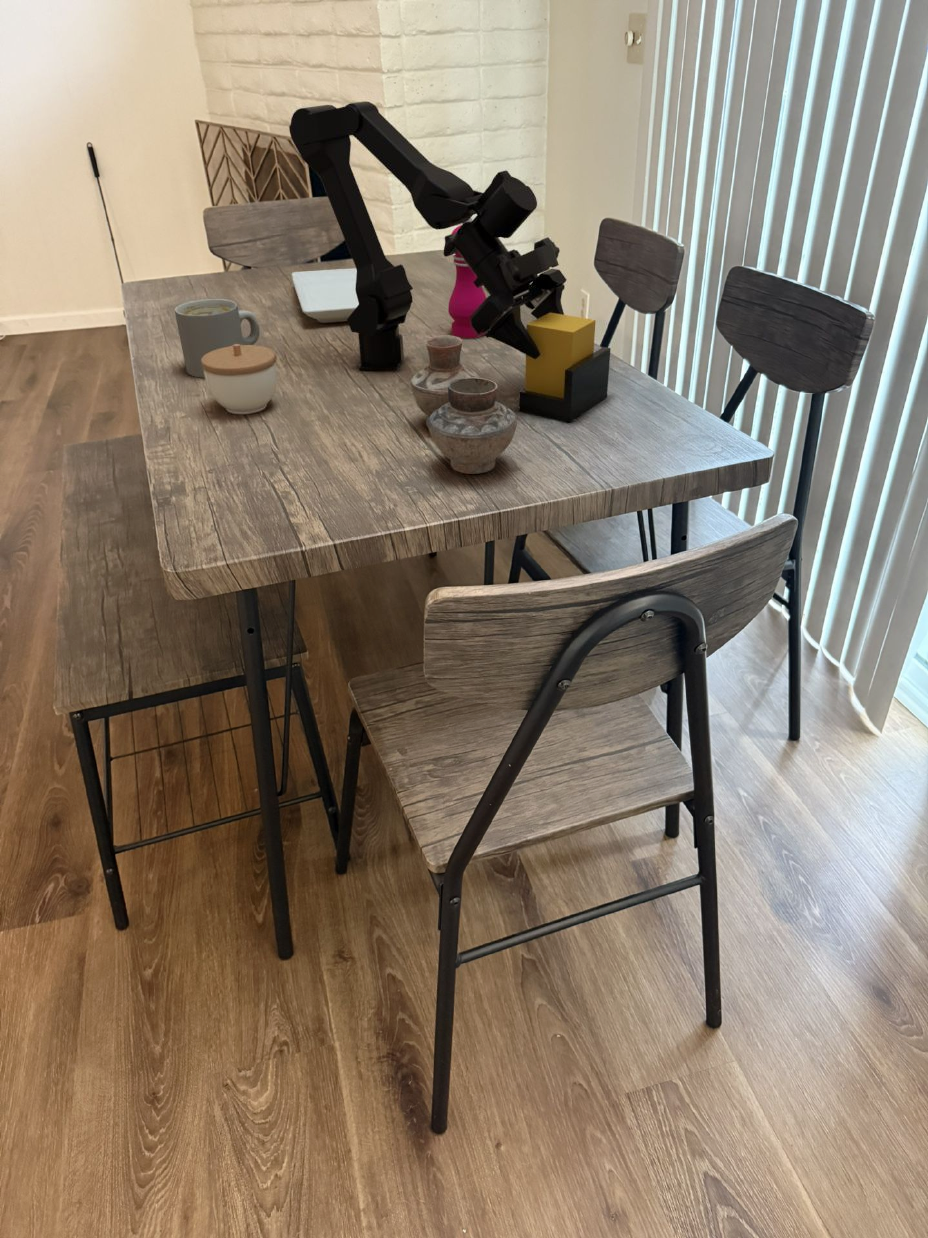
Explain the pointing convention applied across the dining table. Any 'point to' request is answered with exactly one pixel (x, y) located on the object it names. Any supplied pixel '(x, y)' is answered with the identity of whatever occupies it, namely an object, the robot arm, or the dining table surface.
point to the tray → (327, 293)
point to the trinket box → (241, 377)
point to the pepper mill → (464, 298)
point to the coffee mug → (211, 329)
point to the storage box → (557, 350)
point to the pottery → (461, 409)
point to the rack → (573, 390)
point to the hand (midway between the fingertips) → (553, 348)
